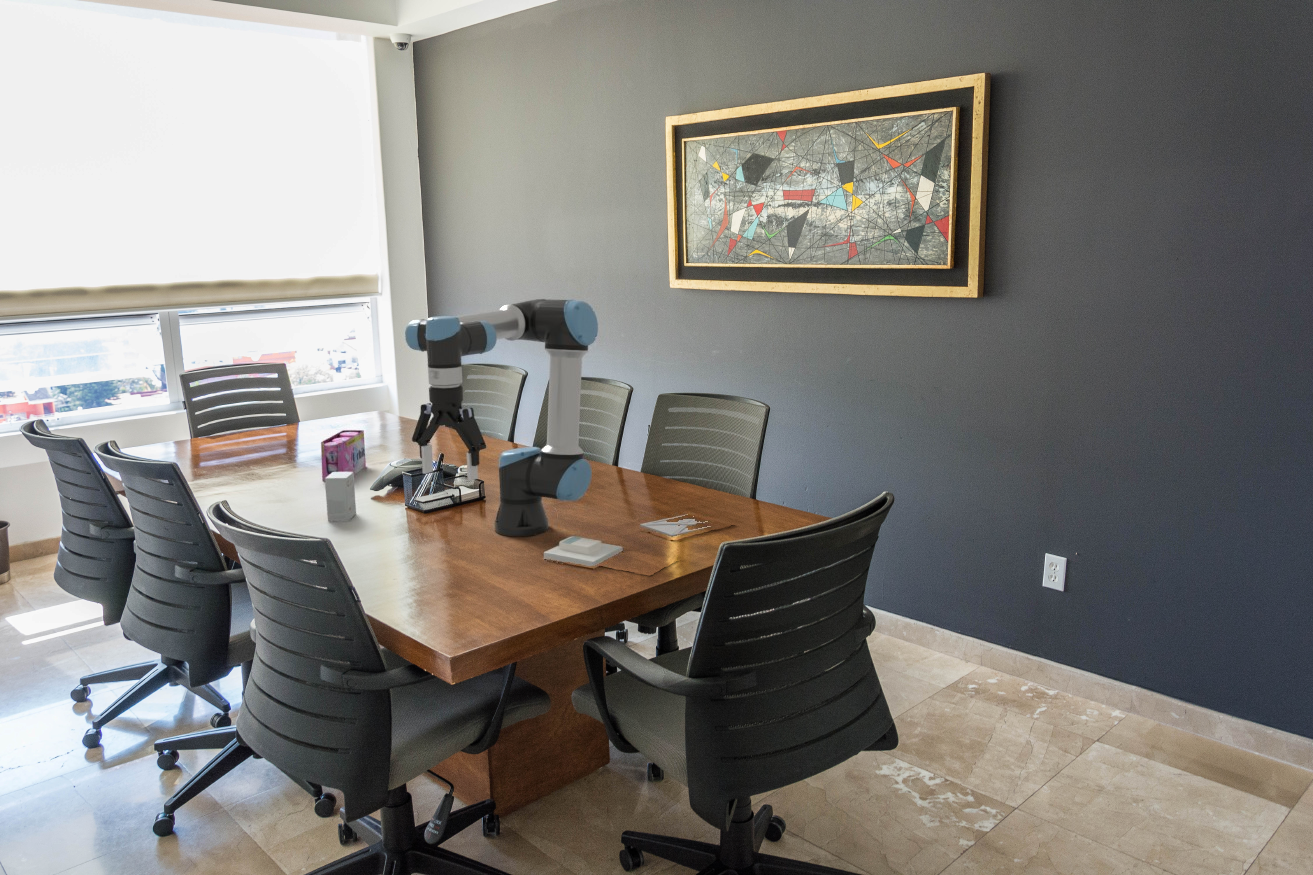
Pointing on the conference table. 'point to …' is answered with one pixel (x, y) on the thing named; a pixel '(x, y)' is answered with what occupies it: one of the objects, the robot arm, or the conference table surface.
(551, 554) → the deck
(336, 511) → the small box
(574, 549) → the card
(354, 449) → the gum box
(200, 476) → the conference table surface
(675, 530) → the envelope
